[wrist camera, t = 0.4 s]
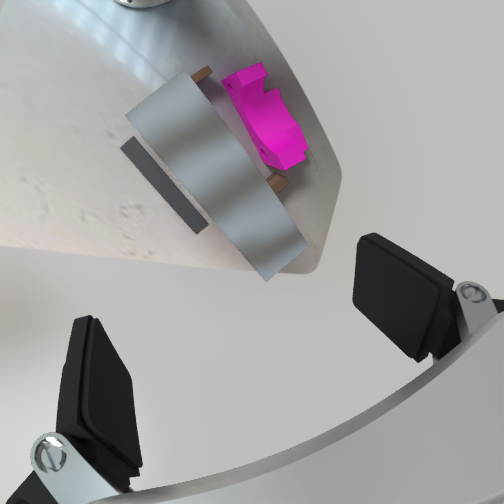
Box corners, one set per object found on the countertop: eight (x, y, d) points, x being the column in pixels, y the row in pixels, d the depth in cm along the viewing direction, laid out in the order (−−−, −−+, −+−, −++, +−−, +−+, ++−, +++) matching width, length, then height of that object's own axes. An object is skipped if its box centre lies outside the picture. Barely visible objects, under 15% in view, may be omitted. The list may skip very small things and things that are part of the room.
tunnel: (134, 120, 35) (124, 115, 19) (201, 70, 35) (243, 35, 19) (221, 224, 46) (266, 281, 31) (278, 178, 46) (348, 211, 31)
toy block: (294, 145, 45) (319, 150, 39) (263, 163, 45) (284, 170, 38) (256, 65, 37) (276, 55, 31) (220, 80, 37) (235, 72, 30)
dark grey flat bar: (120, 147, 36) (120, 147, 35) (133, 136, 36) (133, 136, 35) (195, 233, 45) (196, 233, 45) (207, 223, 45) (208, 223, 45)
